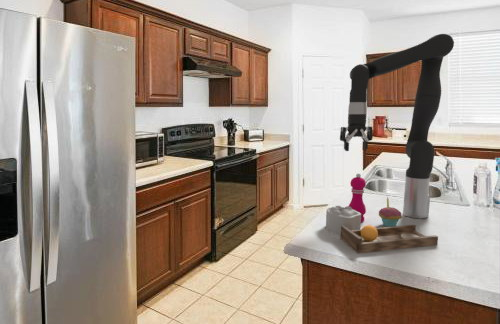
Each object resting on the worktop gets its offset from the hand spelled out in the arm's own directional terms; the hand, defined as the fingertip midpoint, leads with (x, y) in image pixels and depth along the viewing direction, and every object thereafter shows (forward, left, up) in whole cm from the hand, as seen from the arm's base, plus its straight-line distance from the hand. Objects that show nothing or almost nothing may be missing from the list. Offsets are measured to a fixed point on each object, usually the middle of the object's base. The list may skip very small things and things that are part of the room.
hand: (355, 150), depth 144 cm
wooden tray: (+5, +33, -28) cm, 44 cm away
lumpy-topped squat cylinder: (+15, +18, -28) cm, 37 cm away
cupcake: (-6, +18, -28) cm, 34 cm away
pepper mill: (+4, +10, -28) cm, 30 cm away
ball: (+13, +33, -24) cm, 43 cm away
